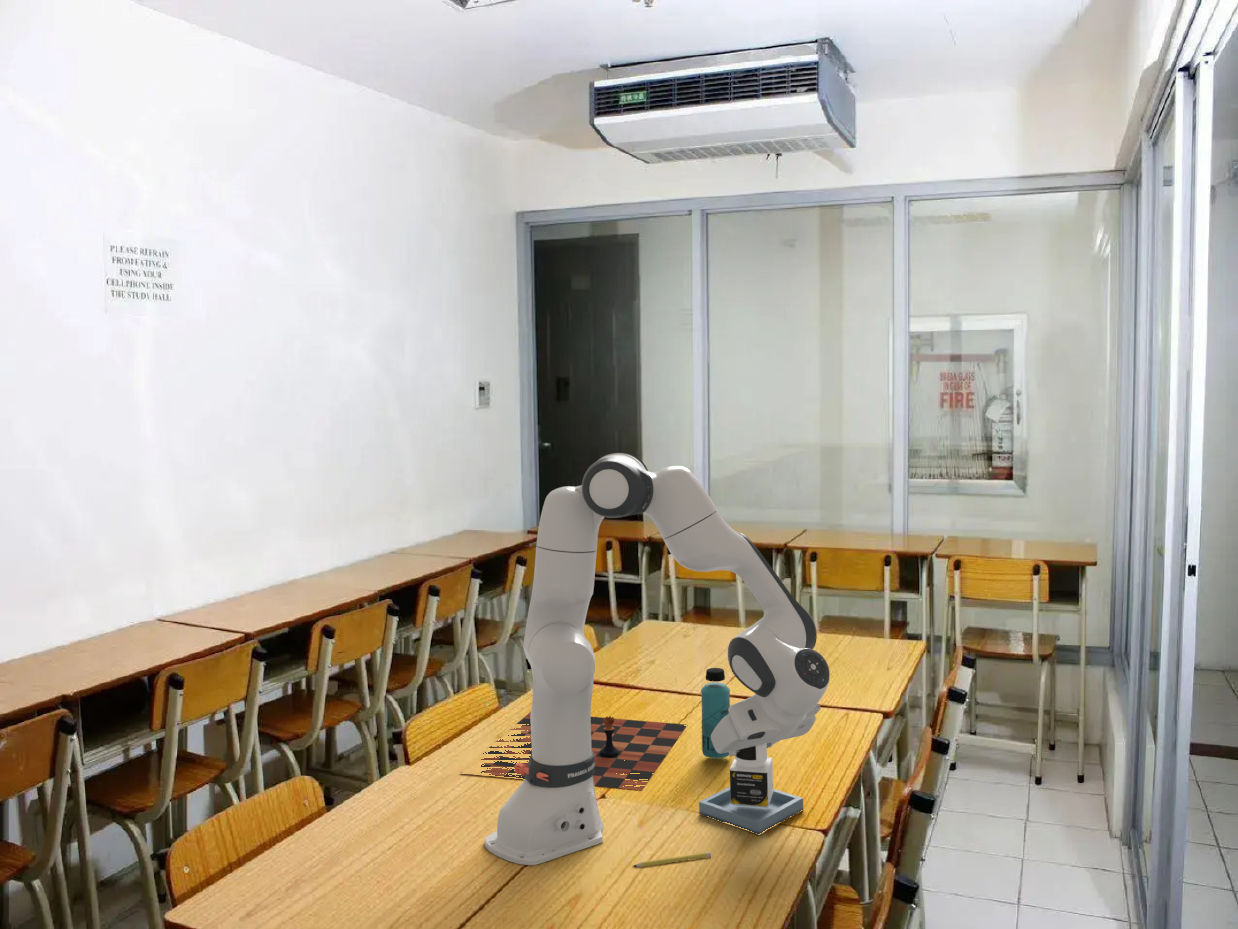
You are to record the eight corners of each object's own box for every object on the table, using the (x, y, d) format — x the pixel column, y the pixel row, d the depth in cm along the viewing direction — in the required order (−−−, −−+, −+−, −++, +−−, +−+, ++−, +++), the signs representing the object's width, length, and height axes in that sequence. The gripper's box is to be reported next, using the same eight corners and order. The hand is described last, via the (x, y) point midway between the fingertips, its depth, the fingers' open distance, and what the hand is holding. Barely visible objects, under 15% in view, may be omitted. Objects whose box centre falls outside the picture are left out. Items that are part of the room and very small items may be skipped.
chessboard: (461, 776, 223) (459, 726, 222) (531, 715, 261) (529, 672, 260) (641, 795, 211) (641, 742, 210) (687, 729, 249) (687, 683, 248)
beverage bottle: (696, 762, 225) (694, 671, 223) (708, 752, 231) (706, 663, 229) (725, 767, 222) (723, 675, 220) (736, 756, 228) (734, 666, 226)
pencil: (631, 868, 179) (631, 862, 179) (709, 857, 183) (709, 851, 182) (632, 870, 178) (632, 864, 178) (711, 859, 182) (710, 853, 182)
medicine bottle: (730, 805, 197) (728, 743, 195) (736, 790, 203) (734, 730, 202) (768, 808, 195) (766, 745, 193) (773, 793, 201) (771, 732, 200)
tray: (759, 835, 189) (758, 822, 189) (699, 814, 199) (699, 801, 199) (803, 810, 199) (803, 798, 199) (744, 791, 209) (744, 779, 209)
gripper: (816, 687, 195) (787, 723, 205) (722, 706, 186) (696, 743, 196) (831, 717, 192) (801, 753, 201) (736, 738, 183) (709, 774, 193)
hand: (748, 748), depth 199 cm, fingers closed on medicine bottle, 6 cm apart
